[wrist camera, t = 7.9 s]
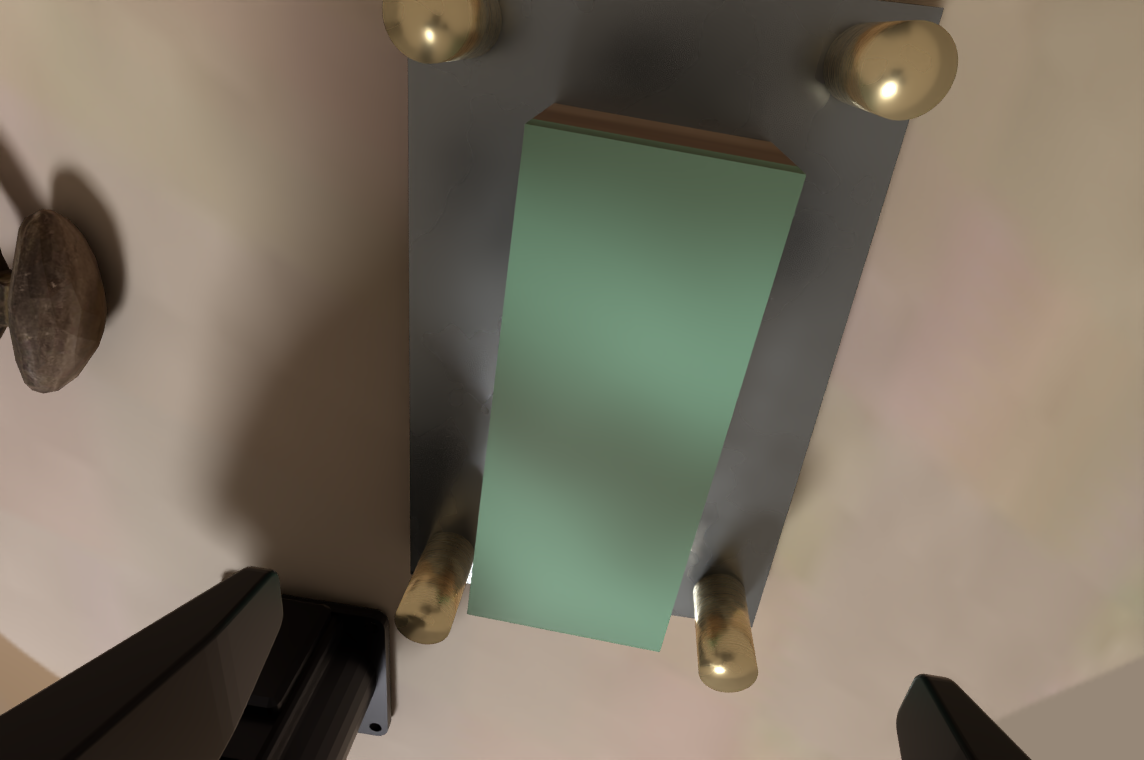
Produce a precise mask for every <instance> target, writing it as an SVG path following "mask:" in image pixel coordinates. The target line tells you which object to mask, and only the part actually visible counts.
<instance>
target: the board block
mask: <svg viewBox="0 0 1144 760" xmlns="http://www.w3.org/2000/svg"><path fill="white" fill-rule="evenodd" d="M805 178H806V174H805V173H804V172H803V171H802V170H801V169H800V168H799V167H798V166H797V165H796V164H794V163H793V162H792V161H791V160H790V159H789V158H788V157H787V156H786V155H785V154H784V153H783V152H782V151H780V150H779V149H778V148H777V147H776V146H775V145H774V144H773V143H772V142H768V141H762V140H757V139H751V138H746V137H740V136H734V135H729V134H723V133H718V132H712V131H707V130H701V129H695V128H690V127H684V126H679V125H673V124H668V123H662V122H657V121H651V120H645V119H640V118H634V117H629V116H623V115H618V114H612V113H607V112H601V111H595V110H590V109H584V108H579V107H573V106H568V105H562V104H557V103H553V104H552V105H551V106H549V107H548V108H546V109H545V110H544V111H542V112H541V113H539V114H538V115H537V116H535V117H534V118H532V119H531V120H530V121H528V122H527V123H525V128H524V136H523V145H522V153H521V162H520V170H519V179H518V187H517V196H516V204H515V213H514V221H513V229H512V238H511V246H510V255H509V263H508V272H507V280H506V289H505V297H504V306H503V314H502V323H501V331H500V340H499V348H498V356H497V365H496V373H495V382H494V390H493V399H492V407H491V416H490V424H489V433H488V441H487V450H486V458H485V467H484V475H483V483H482V492H481V500H480V509H479V517H478V526H477V534H476V543H475V551H474V560H473V568H472V577H471V585H470V594H469V602H468V610H467V614H469V615H474V616H479V617H484V618H490V619H495V620H500V621H505V622H510V623H515V624H520V625H525V626H530V627H535V628H540V629H545V630H550V631H555V632H560V633H566V634H571V635H576V636H581V637H586V638H591V639H596V640H601V641H606V642H611V643H616V644H621V645H626V646H631V647H637V648H642V649H647V650H652V651H657V652H660V649H661V646H662V643H663V639H664V636H665V633H666V630H667V626H668V623H669V620H670V617H671V613H672V610H673V607H674V604H675V600H676V597H677V594H678V591H679V587H680V584H681V581H682V578H683V574H684V571H685V568H686V565H687V561H688V558H689V555H690V552H691V548H692V545H693V542H694V539H695V535H696V532H697V529H698V526H699V522H700V519H701V516H702V513H703V509H704V506H705V503H706V500H707V496H708V493H709V490H710V487H711V483H712V480H713V477H714V474H715V470H716V467H717V464H718V461H719V457H720V454H721V451H722V448H723V444H724V441H725V438H726V435H727V431H728V428H729V425H730V422H731V418H732V415H733V412H734V409H735V405H736V402H737V399H738V396H739V392H740V389H741V386H742V383H743V379H744V376H745V373H746V370H747V366H748V363H749V360H750V356H751V353H752V350H753V347H754V343H755V340H756V337H757V334H758V330H759V327H760V324H761V321H762V317H763V314H764V311H765V308H766V304H767V301H768V298H769V295H770V291H771V288H772V285H773V282H774V278H775V275H776V272H777V269H778V265H779V262H780V259H781V256H782V252H783V249H784V246H785V243H786V239H787V236H788V233H789V230H790V226H791V223H792V220H793V217H794V213H795V210H796V207H797V204H798V200H799V197H800V194H801V191H802V187H803V184H804V181H805Z"/></svg>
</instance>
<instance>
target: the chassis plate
mask: <svg viewBox="0 0 1144 760" xmlns="http://www.w3.org/2000/svg"><path fill="white" fill-rule="evenodd" d="M943 9H944V8H939V7H931V6H922V5H913V4H904V3H895V2H886V1H878V0H383V4H382V13H383V20H384V25H385V28H386V31H387V33H388V35H389V37H390V39H391V41H392V42H393V43H394V45H395V46H396V47H397V48H398V49H399V50H400V51H401V52H402V53H403V54H404V55H406V56H407V57H408V160H409V357H410V554H411V574H412V578H411V580H410V582H409V584H408V587H407V589H406V591H405V593H404V596H403V598H402V600H401V602H400V605H399V607H398V609H397V611H396V614H395V624H396V627H397V629H398V630H399V631H400V633H401V634H403V635H404V636H405V637H406V638H408V639H410V640H412V641H414V642H417V643H421V644H435V643H438V642H441V641H443V640H444V639H445V638H446V637H447V636H448V634H449V632H450V629H451V626H452V623H453V620H454V617H455V614H456V611H457V609H458V606H459V603H460V600H461V597H462V594H463V591H464V588H465V585H466V583H470V584H471V577H472V568H473V560H474V551H475V543H476V534H477V526H478V517H479V509H480V500H481V492H482V483H483V475H484V467H485V458H486V450H487V441H488V433H489V424H490V416H491V407H492V399H493V390H494V382H495V373H496V365H497V356H498V348H499V340H500V331H501V323H502V314H503V306H504V297H505V289H506V280H507V272H508V263H509V255H510V246H511V238H512V229H513V221H514V213H515V204H516V196H517V187H518V179H519V170H520V162H521V153H522V145H523V136H524V128H525V123H527V122H528V121H530V120H531V119H532V118H534V117H535V116H537V115H538V114H539V113H541V112H542V111H544V110H545V109H546V108H548V107H549V106H551V105H552V104H553V103H557V104H562V105H568V106H573V107H579V108H584V109H590V110H595V111H601V112H607V113H612V114H618V115H623V116H629V117H634V118H640V119H645V120H651V121H657V122H662V123H668V124H673V125H679V126H684V127H690V128H695V129H701V130H707V131H712V132H718V133H723V134H729V135H734V136H740V137H746V138H751V139H757V140H762V141H768V142H772V143H773V144H774V145H775V146H776V147H777V148H778V149H779V150H780V151H782V152H783V153H784V154H785V155H786V156H787V157H788V158H789V159H790V160H791V161H792V162H793V163H794V164H796V165H797V166H798V167H799V168H800V169H801V170H802V171H803V172H804V173H805V174H806V178H805V181H804V184H803V187H802V191H801V194H800V197H799V200H798V204H797V207H796V210H795V213H794V217H793V220H792V223H791V226H790V230H789V233H788V236H787V239H786V243H785V246H784V249H783V252H782V256H781V259H780V262H779V265H778V269H777V272H776V275H775V278H774V282H773V285H772V288H771V291H770V295H769V298H768V301H767V304H766V308H765V311H764V314H763V317H762V321H761V324H760V327H759V330H758V334H757V337H756V340H755V343H754V347H753V350H752V353H751V356H750V360H749V363H748V366H747V370H746V373H745V376H744V379H743V383H742V386H741V389H740V392H739V396H738V399H737V402H736V405H735V409H734V412H733V415H732V418H731V422H730V425H729V428H728V431H727V435H726V438H725V441H724V444H723V448H722V451H721V454H720V457H719V461H718V464H717V467H716V470H715V474H714V477H713V480H712V483H711V487H710V490H709V493H708V496H707V500H706V503H705V506H704V509H703V513H702V516H701V519H700V522H699V526H698V529H697V532H696V535H695V539H694V542H693V545H692V548H691V552H690V555H689V558H688V561H687V565H686V568H685V571H684V574H683V578H682V581H681V584H680V587H679V591H678V594H677V597H676V600H675V604H674V607H673V610H672V613H671V615H675V616H681V617H688V618H694V619H695V628H696V642H697V656H698V670H699V676H700V679H701V680H702V682H703V683H704V684H705V685H707V686H708V687H709V688H711V689H714V690H716V691H720V692H738V691H742V690H744V689H746V688H748V687H750V686H751V685H752V684H753V683H754V682H755V680H756V679H757V676H758V669H757V663H756V656H755V650H754V644H753V638H752V632H751V627H752V625H753V622H754V619H755V616H756V612H757V609H758V606H759V603H760V600H761V596H762V593H763V590H764V587H765V583H766V580H767V577H768V574H769V571H770V567H771V564H772V561H773V558H774V554H775V551H776V548H777V545H778V542H779V538H780V535H781V532H782V529H783V525H784V522H785V519H786V516H787V512H788V509H789V506H790V503H791V500H792V496H793V493H794V490H795V487H796V483H797V480H798V477H799V474H800V471H801V467H802V464H803V461H804V458H805V454H806V451H807V448H808V445H809V441H810V438H811V435H812V432H813V429H814V425H815V422H816V419H817V416H818V412H819V409H820V406H821V403H822V400H823V396H824V393H825V390H826V387H827V383H828V380H829V377H830V374H831V371H832V367H833V364H834V361H835V358H836V354H837V351H838V348H839V345H840V341H841V338H842V335H843V332H844V329H845V325H846V322H847V319H848V316H849V312H850V309H851V306H852V303H853V300H854V296H855V293H856V290H857V287H858V283H859V280H860V277H861V274H862V271H863V267H864V264H865V261H866V258H867V254H868V251H869V248H870V245H871V241H872V238H873V235H874V232H875V229H876V225H877V222H878V219H879V216H880V212H881V209H882V206H883V203H884V200H885V196H886V193H887V190H888V187H889V183H890V180H891V177H892V174H893V171H894V167H895V164H896V161H897V158H898V154H899V151H900V148H901V145H902V141H903V138H904V135H905V132H906V129H907V125H908V122H909V119H913V118H916V117H919V116H921V115H923V114H925V113H927V112H928V111H930V110H931V109H933V108H934V107H935V106H936V105H937V104H938V103H939V102H940V101H941V100H942V99H943V98H944V97H945V96H946V94H947V93H948V91H949V90H950V88H951V86H952V84H953V81H954V79H955V76H956V72H957V66H958V54H957V49H956V45H955V43H954V41H953V39H952V37H951V36H950V34H949V33H948V32H947V31H946V30H945V29H944V28H942V27H941V26H939V22H940V19H941V16H942V12H943Z"/></svg>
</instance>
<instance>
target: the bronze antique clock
mask: <svg viewBox="0 0 1144 760" xmlns="http://www.w3.org/2000/svg"><path fill="white" fill-rule="evenodd" d="M106 316H107V305H106V298H105V291H104V287H103V283H102V279H101V276H100V272H99V268H98V265H97V261H96V258H95V256H94V254H93V252H92V250H91V248H90V247H89V245H88V243H87V241H86V239H85V237H84V236H83V234H82V233H81V232H80V231H79V230H78V228H77V227H76V226H75V225H74V224H73V223H72V222H71V221H70V220H69V219H67V218H66V217H64V216H62V215H60V214H59V213H57V212H55V211H53V210H44V209H41V210H39V211H37V212H35V213H33V214H32V215H30V216H28V217H26V218H25V219H24V221H23V222H22V224H21V226H20V228H19V231H18V237H17V243H16V249H15V255H14V261H13V268H12V270H10V269H9V267H8V265H7V263H6V261H5V259H4V257H3V255H2V252H1V249H0V338H1V337H2V335H3V333H4V331H5V330H6V328H7V326H8V327H9V329H10V334H11V340H12V345H13V350H14V355H15V360H16V363H17V365H18V368H19V370H20V373H21V375H22V378H23V380H24V383H25V384H26V385H27V386H28V387H29V388H31V389H32V390H34V391H37V392H40V393H48V392H53V391H58V390H60V389H61V388H62V387H64V386H65V385H66V384H68V383H69V382H71V381H72V380H73V379H75V378H76V377H78V375H79V374H80V372H81V371H82V370H83V368H84V367H85V365H86V364H87V362H88V361H89V360H90V358H91V357H92V355H93V354H94V352H95V351H96V349H97V348H98V347H99V344H100V341H101V338H102V335H103V332H104V327H105V322H106Z"/></svg>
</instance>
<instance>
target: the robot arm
mask: <svg viewBox="0 0 1144 760" xmlns="http://www.w3.org/2000/svg"><path fill="white" fill-rule="evenodd" d="M373 623H374V624H373ZM390 723H391V692H390V652H389V621H388V617H387V616H386V615H385V614H384V613H382V612H381V611H379V610H375V609H369V608H363V607H357V606H350V605H344V604H338V603H331V602H325V601H319V600H313V599H306V598H300V597H294V596H287V595H281V590H280V582H279V576H278V574H277V572H276V571H274V570H271V569H265V568H259V567H252V566H251V567H246V568H243V569H242V570H240V571H238V572H237V573H235V574H233V575H232V576H230V577H228V578H227V579H225V580H223V581H222V582H220V583H218V584H217V585H215V586H213V587H212V588H210V589H208V590H207V591H205V592H203V593H202V594H200V595H199V596H197V597H195V598H194V599H192V600H190V601H189V602H187V603H185V604H184V605H182V606H180V607H179V608H177V609H175V610H174V611H172V612H170V613H169V614H167V615H165V616H164V617H162V618H161V619H159V620H157V621H156V622H154V623H152V624H151V625H149V626H147V627H146V628H144V629H142V630H141V631H139V632H137V633H136V634H134V635H132V636H131V637H129V638H128V639H126V640H124V641H123V642H121V643H119V644H118V645H116V646H114V647H113V648H111V649H109V650H108V651H106V652H104V653H103V654H101V655H99V656H98V657H96V658H94V659H93V660H91V661H90V662H88V663H86V664H85V665H83V666H81V667H80V668H78V669H76V670H75V671H73V672H71V673H70V674H68V675H66V676H65V677H63V678H61V679H60V680H58V681H56V682H55V683H53V684H52V685H50V686H48V687H47V688H45V689H43V690H42V691H40V692H38V693H37V694H35V695H34V696H32V697H30V698H29V699H27V700H25V701H23V702H22V703H20V704H19V705H17V706H15V707H14V708H12V709H10V710H9V711H7V712H5V713H4V714H2V715H0V760H346V758H347V756H348V754H349V751H350V749H351V747H352V744H353V742H354V739H355V737H356V735H357V732H358V733H364V734H370V735H376V736H381V735H385V734H386V733H387V731H388V728H389V726H390ZM896 728H897V735H898V741H899V747H900V753H901V759H902V760H1031V759H1030V758H1029V757H1028V756H1027V755H1026V754H1025V753H1024V752H1023V751H1022V750H1021V749H1020V748H1019V747H1018V746H1017V745H1016V744H1015V743H1014V742H1013V741H1012V740H1011V739H1010V738H1009V737H1008V736H1007V734H1006V733H1005V732H1004V731H1003V730H1002V729H1001V728H1000V727H999V726H998V725H997V724H996V723H995V722H994V721H993V720H992V719H991V718H990V717H989V716H988V715H987V714H986V713H985V712H984V711H983V710H982V709H981V708H980V707H979V706H978V705H977V704H976V703H975V702H974V701H973V700H972V699H971V698H970V697H969V696H968V695H967V694H966V693H965V692H964V691H963V690H962V689H961V688H960V687H959V686H958V685H957V684H956V683H955V682H954V681H952V680H951V679H949V678H946V677H941V676H934V675H928V674H919V675H918V676H916V677H915V678H914V680H913V682H912V684H911V686H910V688H909V690H908V692H907V694H906V696H905V698H904V700H903V702H902V704H901V706H900V708H899V711H898V714H897V720H896Z"/></svg>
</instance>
